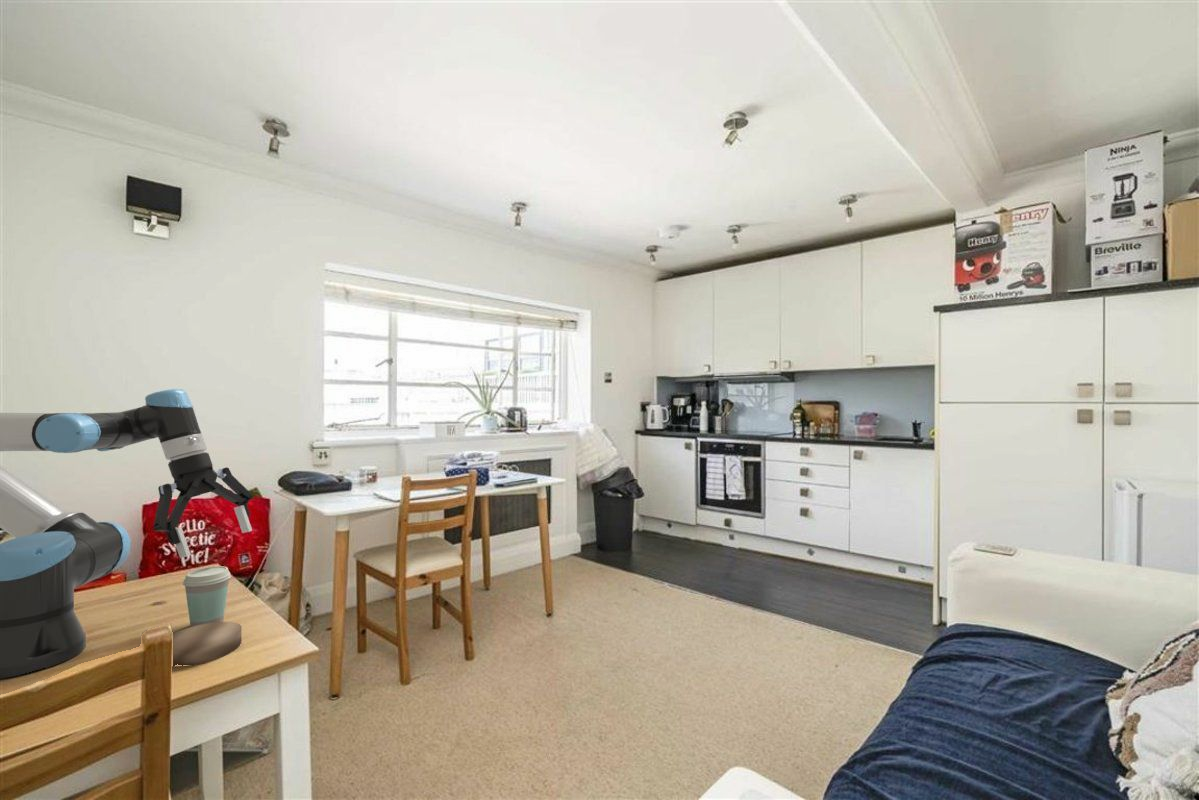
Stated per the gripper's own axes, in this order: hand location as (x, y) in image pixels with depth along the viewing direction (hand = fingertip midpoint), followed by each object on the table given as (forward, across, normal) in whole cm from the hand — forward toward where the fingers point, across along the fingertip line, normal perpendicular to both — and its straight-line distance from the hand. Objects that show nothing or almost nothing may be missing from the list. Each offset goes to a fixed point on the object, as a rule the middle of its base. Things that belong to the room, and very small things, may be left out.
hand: (218, 543), depth 118 cm
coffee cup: (+17, -6, +3) cm, 18 cm away
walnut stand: (+18, -14, -9) cm, 24 cm away
